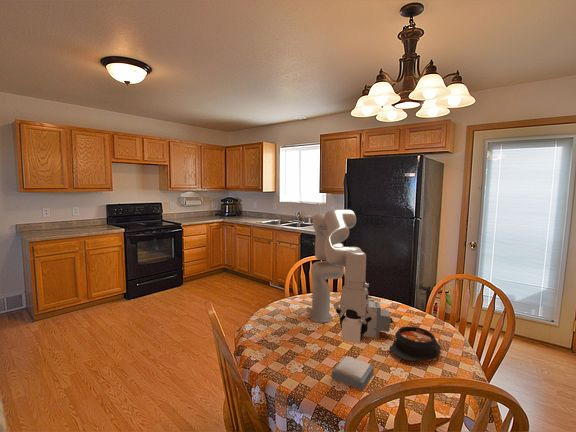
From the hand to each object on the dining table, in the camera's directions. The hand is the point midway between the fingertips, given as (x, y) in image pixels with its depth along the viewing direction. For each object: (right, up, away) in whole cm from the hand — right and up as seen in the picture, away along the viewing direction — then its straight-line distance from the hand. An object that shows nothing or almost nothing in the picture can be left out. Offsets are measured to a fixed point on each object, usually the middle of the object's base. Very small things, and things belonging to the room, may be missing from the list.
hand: (353, 329), depth 113 cm
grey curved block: (+18, -13, +62) cm, 66 cm away
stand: (0, -18, +1) cm, 18 cm away
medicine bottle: (0, -4, 0) cm, 4 cm away
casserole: (+31, -17, +19) cm, 41 cm away
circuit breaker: (+19, -16, +35) cm, 42 cm away
